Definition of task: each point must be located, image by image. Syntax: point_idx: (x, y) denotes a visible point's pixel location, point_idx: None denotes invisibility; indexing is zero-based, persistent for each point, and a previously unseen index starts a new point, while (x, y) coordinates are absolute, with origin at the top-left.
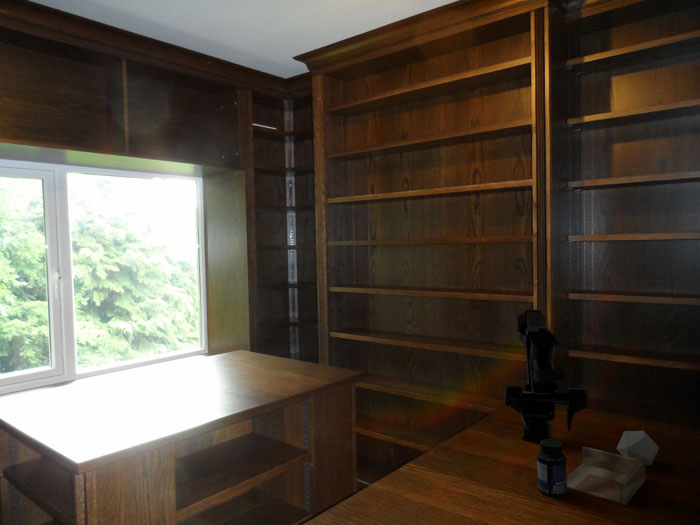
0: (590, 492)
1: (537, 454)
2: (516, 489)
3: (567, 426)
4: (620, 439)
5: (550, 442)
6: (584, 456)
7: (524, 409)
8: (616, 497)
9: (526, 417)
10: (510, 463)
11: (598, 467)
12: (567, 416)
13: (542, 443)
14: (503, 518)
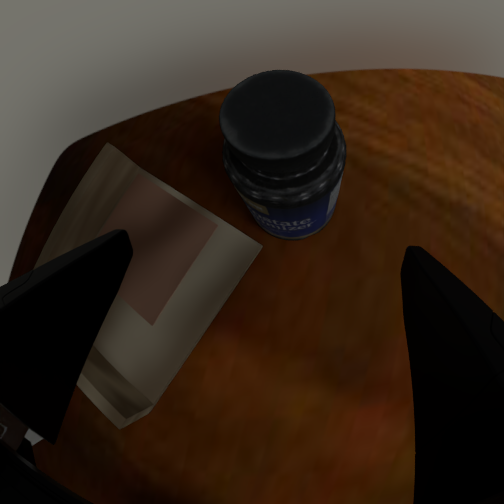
0: (187, 200)
1: (344, 153)
2: (396, 200)
3: (115, 265)
4: (31, 430)
5: (278, 116)
6: (135, 406)
7: (485, 341)
8: (138, 182)
9: (442, 282)
10: (389, 403)
11: (118, 372)
12: (65, 320)
13: (324, 96)
14: (413, 71)
